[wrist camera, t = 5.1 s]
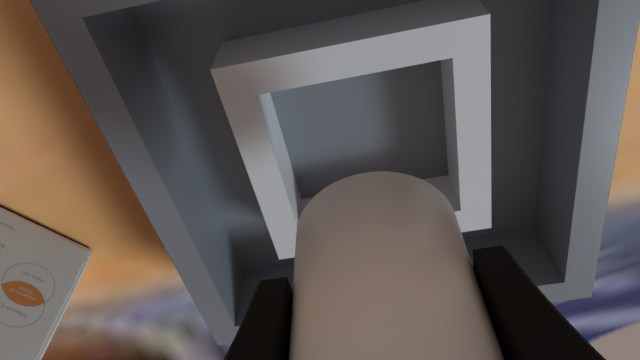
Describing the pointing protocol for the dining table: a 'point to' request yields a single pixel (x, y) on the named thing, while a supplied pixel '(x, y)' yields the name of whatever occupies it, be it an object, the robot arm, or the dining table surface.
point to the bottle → (385, 276)
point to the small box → (34, 284)
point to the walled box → (354, 121)
